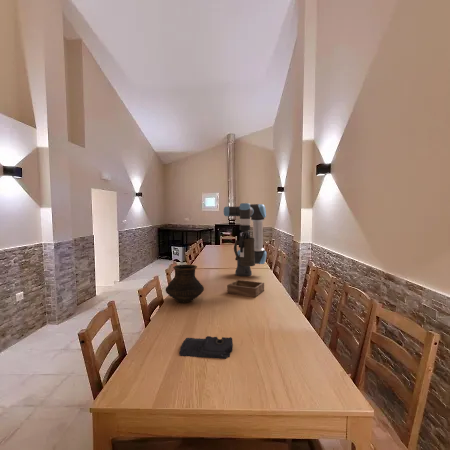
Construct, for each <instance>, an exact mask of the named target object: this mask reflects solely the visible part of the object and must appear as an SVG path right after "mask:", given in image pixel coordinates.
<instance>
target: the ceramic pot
mask: <svg viewBox="0 0 450 450" xmlns="http://www.w3.org/2000/svg"><path fill="white" fill-rule="evenodd" d="M197 268H198V266H197V265H194V264H177V265H174V266H172V269H174V272H175V273H174V277H173V278H172V279H171V281H170V282H169V283H168V285H167V286H166V287H165V293H166V295H168V296H169V297H170V298H172V299H174V300H176V301H177V302H178V303H190V302H193V301H194V300H195V299H197V298H198V297H199V296H200V295H201V294H203V292H204V291H205V287H204V285H203V284H202V283H201V282H200V280H198V278H197V277H196V269H197Z"/></svg>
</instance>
